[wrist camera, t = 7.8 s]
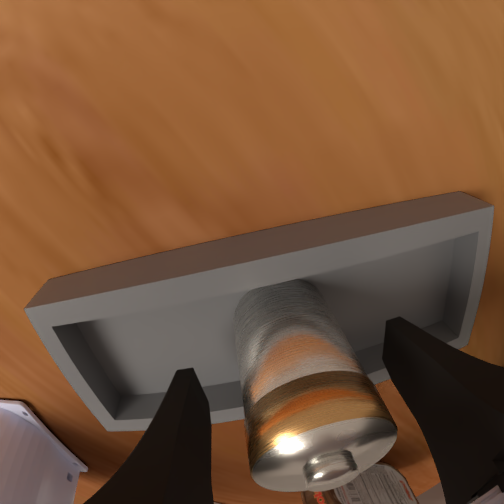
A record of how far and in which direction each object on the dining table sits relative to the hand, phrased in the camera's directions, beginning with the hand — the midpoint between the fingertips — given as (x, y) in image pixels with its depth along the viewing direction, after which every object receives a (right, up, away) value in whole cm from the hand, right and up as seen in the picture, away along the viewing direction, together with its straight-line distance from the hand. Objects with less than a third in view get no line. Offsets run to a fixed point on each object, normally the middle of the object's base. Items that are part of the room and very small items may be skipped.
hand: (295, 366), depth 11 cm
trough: (0, +1, +3) cm, 3 cm away
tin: (+8, -15, +12) cm, 21 cm away
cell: (0, +1, +2) cm, 3 cm away
